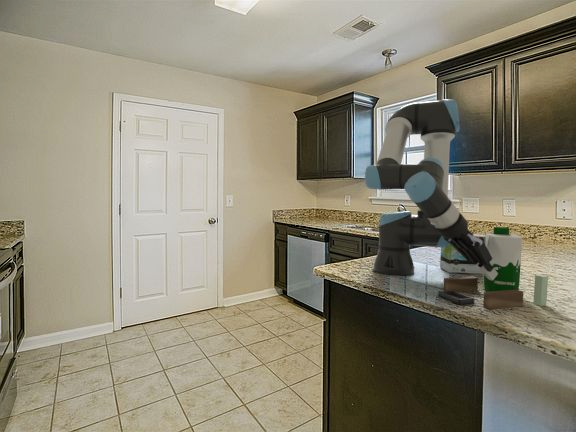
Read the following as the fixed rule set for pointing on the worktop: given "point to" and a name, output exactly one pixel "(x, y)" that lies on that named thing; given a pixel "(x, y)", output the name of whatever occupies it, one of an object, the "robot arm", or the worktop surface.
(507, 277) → the soya milk
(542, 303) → the gate
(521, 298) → the channel
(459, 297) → the pit tray
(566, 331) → the worktop surface
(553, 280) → the worktop surface
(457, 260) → the tea box
